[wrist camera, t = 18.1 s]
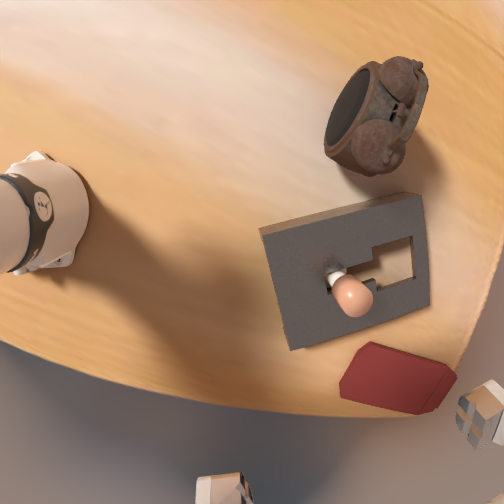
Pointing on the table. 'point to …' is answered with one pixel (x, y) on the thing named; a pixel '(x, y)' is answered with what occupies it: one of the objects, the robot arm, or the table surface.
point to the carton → (396, 380)
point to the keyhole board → (344, 265)
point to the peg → (349, 293)
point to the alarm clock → (376, 116)
